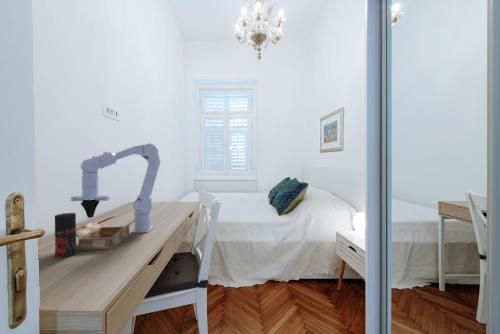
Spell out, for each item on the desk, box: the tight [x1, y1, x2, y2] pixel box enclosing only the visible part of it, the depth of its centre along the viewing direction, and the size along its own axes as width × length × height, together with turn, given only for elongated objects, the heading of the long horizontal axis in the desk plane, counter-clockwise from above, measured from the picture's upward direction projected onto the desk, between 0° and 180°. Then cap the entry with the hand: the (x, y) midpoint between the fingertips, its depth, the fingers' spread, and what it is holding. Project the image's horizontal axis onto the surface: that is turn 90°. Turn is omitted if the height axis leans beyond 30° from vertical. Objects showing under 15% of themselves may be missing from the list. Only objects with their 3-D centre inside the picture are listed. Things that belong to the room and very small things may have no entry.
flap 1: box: [76, 220, 102, 239], centre depth 93 cm, size 15×1×4 cm
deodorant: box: [54, 212, 77, 259], centre depth 81 cm, size 6×6×15 cm
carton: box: [78, 226, 130, 251], centre depth 94 cm, size 17×12×4 cm
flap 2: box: [112, 220, 136, 237], centre depth 95 cm, size 15×1×4 cm
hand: (90, 217), depth 96 cm, fingers closed
